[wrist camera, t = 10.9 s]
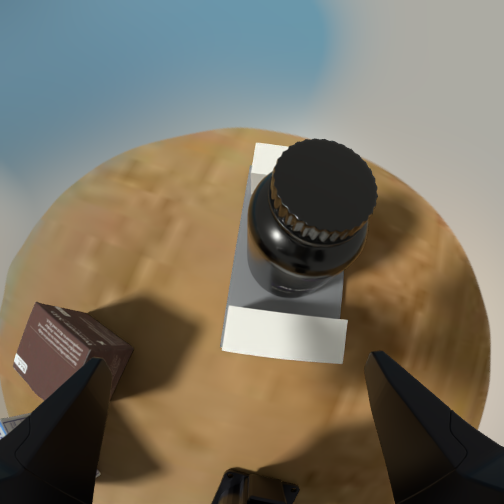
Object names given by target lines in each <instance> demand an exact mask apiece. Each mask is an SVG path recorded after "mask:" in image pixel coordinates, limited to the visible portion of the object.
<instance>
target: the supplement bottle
mask: <svg viewBox="0 0 504 504" xmlns="http://www.w3.org/2000/svg"><path fill="white" fill-rule="evenodd" d="M376 191H377V185H376V183H375V178H374V176H373V175H372V171H371V169H370V168H369V167H368V166H367V163H366V162H365V161H364V160H362V159H361V157H360V156H359V155H358V154H356V153H354V151H353V150H352V149H349V148H347V147H345V146H344V145H342V144H338V143H337V142H335V141H328V140H326V139H321V140H319V139H312V140H308V139H306V140H304V141H302V142H297V143H295V145H291V146H289V147H288V149H287V150H285V151H283V152H282V155H281V157H279V158H278V159H277V162H276V165H275V167H274V168H273V171H272V172H270V173H269V174H268V175H266V176H265V177H264V178H263V179H262V180H261V181H260V182H259V184H258V185H257V187H256V188H255V190H254V192H253V194H252V196H251V199H250V202H249V207H248V214H247V261H248V265H249V269H250V271H251V274H252V276H253V277H254V279H255V280H256V282H257V283H258V284H259V285H260V286H261V287H262V288H263V289H265V290H266V291H267V292H269V293H271V294H273V295H275V296H278V297H283V298H299V297H303V296H306V295H309V294H311V293H313V292H314V291H316V290H317V289H319V288H320V287H322V286H323V285H324V284H326V283H327V282H329V281H330V280H331V279H333V278H334V277H335V276H337V275H338V274H340V273H341V272H342V271H344V270H345V269H346V268H348V267H349V266H350V265H351V264H352V263H353V262H354V261H355V260H356V259H357V257H358V256H359V255H360V253H361V252H362V250H363V248H364V245H365V243H366V240H367V236H368V228H369V220H368V219H369V218H370V217H371V216H372V214H373V209H374V208H375V207H376V199H377V197H378V195H377V192H376Z"/></svg>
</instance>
